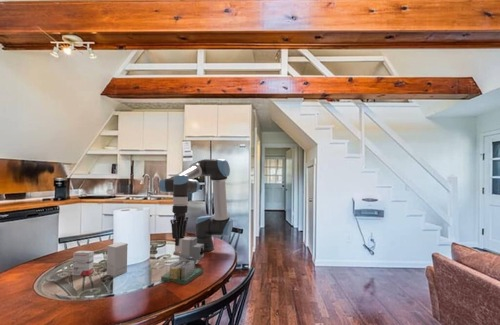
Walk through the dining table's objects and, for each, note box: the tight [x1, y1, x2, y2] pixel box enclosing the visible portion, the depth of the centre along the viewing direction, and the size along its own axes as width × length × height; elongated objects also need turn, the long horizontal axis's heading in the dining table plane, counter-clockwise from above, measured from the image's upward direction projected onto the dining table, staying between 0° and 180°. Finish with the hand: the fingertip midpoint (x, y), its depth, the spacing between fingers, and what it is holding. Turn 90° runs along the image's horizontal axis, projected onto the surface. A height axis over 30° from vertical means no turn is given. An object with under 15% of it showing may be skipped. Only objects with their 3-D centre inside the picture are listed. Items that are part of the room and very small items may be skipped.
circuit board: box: [160, 259, 204, 286], centre depth 150 cm, size 18×14×7 cm
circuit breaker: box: [178, 236, 206, 264], centre depth 171 cm, size 8×14×15 cm, turn 78°
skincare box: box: [106, 241, 129, 278], centre depth 153 cm, size 8×7×16 cm
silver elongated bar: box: [172, 251, 194, 260], centre depth 151 cm, size 16×4×2 cm, turn 161°
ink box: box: [72, 250, 95, 277], centre depth 152 cm, size 8×5×12 cm, turn 89°
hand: (178, 251), depth 146 cm, fingers closed
